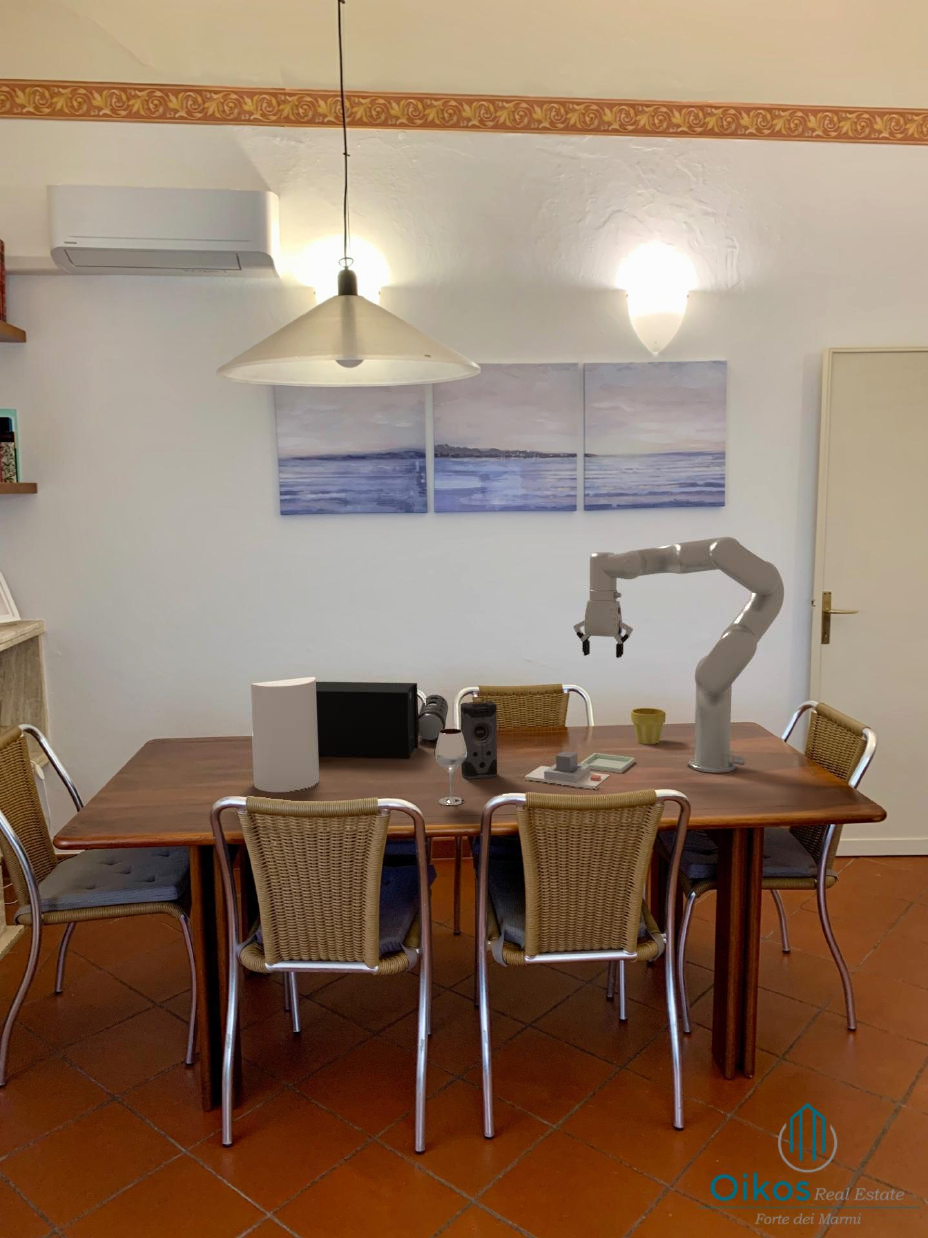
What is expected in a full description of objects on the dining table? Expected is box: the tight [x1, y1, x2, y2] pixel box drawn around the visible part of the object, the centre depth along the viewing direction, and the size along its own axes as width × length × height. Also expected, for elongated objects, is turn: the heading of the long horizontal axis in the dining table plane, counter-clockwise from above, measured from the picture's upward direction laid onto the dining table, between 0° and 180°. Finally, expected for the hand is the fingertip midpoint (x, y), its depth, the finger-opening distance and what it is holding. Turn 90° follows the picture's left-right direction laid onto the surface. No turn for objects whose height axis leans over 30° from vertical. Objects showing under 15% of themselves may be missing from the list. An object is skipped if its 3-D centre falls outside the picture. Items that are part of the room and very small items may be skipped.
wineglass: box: [433, 728, 467, 806], centre depth 226 cm, size 8×8×18 cm
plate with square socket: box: [524, 763, 611, 789], centre depth 244 cm, size 20×11×3 cm, turn 62°
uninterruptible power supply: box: [316, 681, 419, 760], centre depth 274 cm, size 16×34×20 cm, turn 82°
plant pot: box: [630, 707, 666, 745], centre depth 281 cm, size 10×10×10 cm
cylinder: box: [250, 676, 320, 793], centre depth 244 cm, size 17×17×28 cm
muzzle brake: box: [418, 694, 449, 741], centre depth 296 cm, size 10×28×10 cm, turn 178°
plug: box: [555, 750, 578, 773], centre depth 244 cm, size 4×5×6 cm
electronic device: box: [460, 700, 498, 780], centre depth 248 cm, size 9×6×20 cm, turn 105°
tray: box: [578, 752, 636, 774], centre depth 255 cm, size 12×12×2 cm
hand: (602, 656), depth 259 cm, fingers open, 9 cm apart
